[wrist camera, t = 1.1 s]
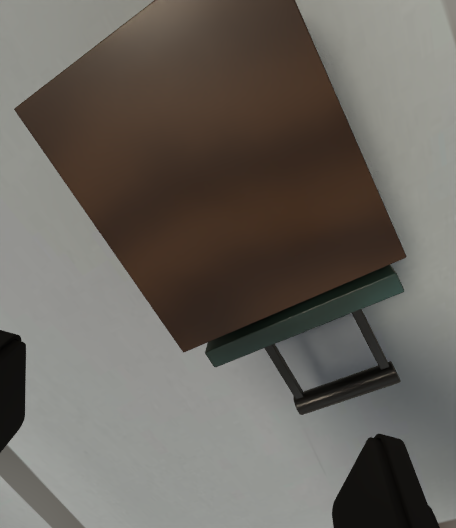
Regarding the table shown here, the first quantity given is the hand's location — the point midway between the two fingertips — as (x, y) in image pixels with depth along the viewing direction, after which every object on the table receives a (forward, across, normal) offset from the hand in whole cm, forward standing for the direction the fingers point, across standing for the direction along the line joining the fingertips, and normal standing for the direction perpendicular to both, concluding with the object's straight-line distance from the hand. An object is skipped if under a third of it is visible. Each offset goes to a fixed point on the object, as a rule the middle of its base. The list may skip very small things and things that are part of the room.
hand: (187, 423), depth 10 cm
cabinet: (+18, +2, -4) cm, 19 cm away
